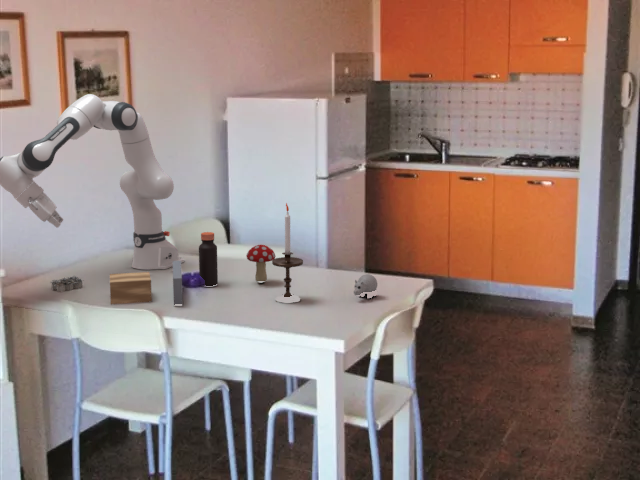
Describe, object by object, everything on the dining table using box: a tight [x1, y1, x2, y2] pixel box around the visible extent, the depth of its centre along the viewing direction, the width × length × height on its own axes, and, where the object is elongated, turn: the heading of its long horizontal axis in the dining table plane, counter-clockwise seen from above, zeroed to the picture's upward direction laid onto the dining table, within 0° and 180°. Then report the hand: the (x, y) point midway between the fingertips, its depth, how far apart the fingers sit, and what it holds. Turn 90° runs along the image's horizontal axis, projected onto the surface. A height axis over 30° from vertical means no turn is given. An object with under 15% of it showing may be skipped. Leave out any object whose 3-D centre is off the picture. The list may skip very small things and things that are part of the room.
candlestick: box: [271, 202, 304, 297], centre depth 313 cm, size 11×11×35 cm
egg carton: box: [49, 275, 85, 292], centre depth 331 cm, size 11×8×4 cm
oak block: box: [109, 271, 153, 305], centre depth 318 cm, size 12×14×8 cm
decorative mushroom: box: [245, 244, 277, 282], centre depth 338 cm, size 11×11×15 cm
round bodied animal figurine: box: [353, 273, 378, 296], centre depth 319 cm, size 7×12×8 cm, turn 143°
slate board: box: [172, 261, 184, 306], centre depth 320 cm, size 26×3×10 cm, turn 9°
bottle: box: [198, 231, 219, 286], centre depth 334 cm, size 7×7×20 cm
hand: (60, 223), depth 315 cm, fingers open, 8 cm apart
